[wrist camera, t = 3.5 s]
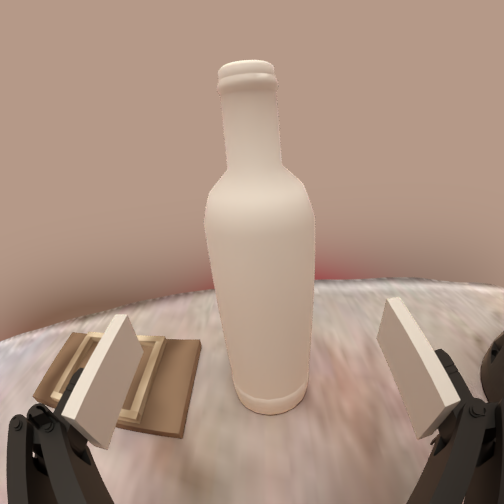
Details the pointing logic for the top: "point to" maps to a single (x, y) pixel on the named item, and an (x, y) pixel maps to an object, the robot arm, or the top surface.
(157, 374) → the serving board
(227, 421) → the top surface
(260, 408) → the bottle
